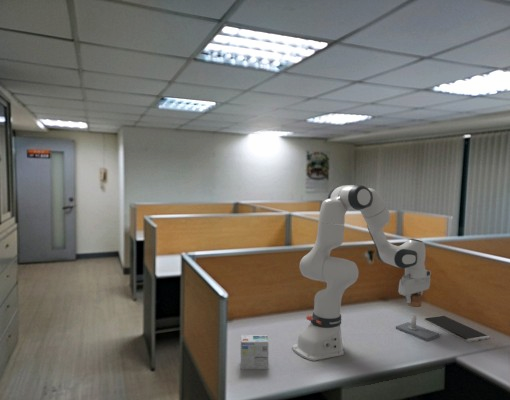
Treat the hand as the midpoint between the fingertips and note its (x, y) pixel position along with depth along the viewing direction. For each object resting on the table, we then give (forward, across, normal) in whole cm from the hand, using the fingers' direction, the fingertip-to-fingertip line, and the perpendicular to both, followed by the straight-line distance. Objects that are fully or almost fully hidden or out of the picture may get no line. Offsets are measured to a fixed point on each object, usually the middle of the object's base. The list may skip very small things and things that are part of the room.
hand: (414, 301), depth 169 cm
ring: (+2, 0, 0) cm, 2 cm away
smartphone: (+15, +19, -9) cm, 26 cm away
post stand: (+14, -1, -2) cm, 14 cm away
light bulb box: (+13, -82, +13) cm, 85 cm away
